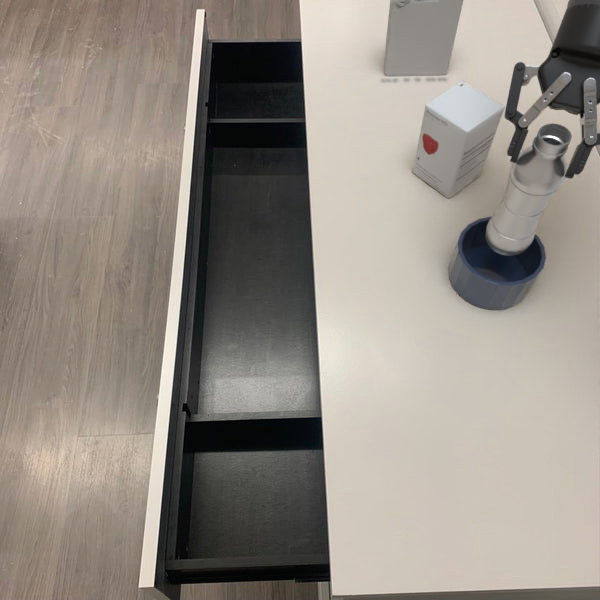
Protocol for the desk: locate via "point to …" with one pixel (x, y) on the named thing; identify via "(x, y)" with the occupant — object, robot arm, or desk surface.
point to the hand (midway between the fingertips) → (540, 169)
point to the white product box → (456, 138)
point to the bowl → (493, 270)
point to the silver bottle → (529, 191)
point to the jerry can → (420, 36)
